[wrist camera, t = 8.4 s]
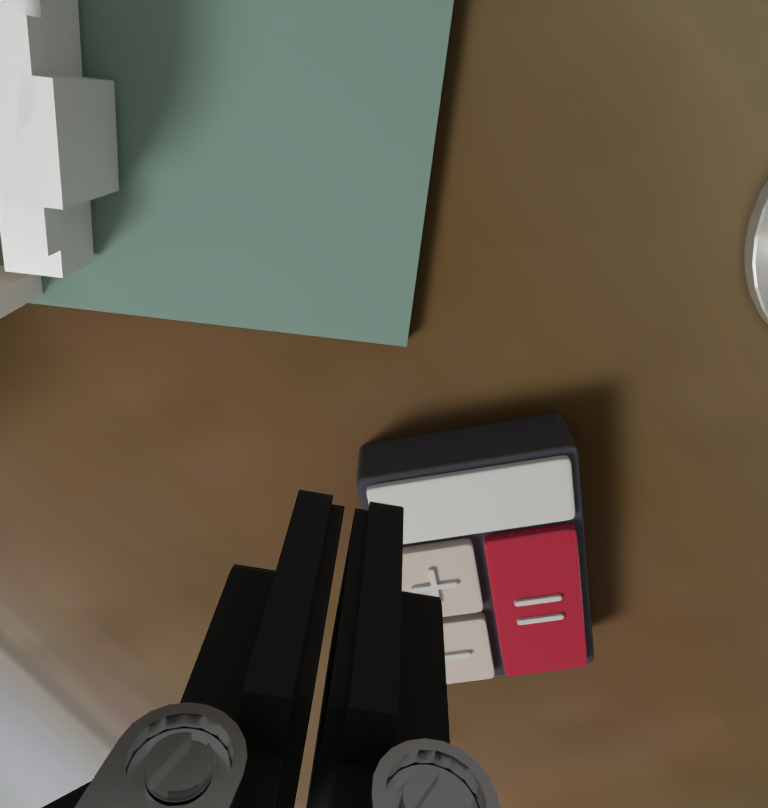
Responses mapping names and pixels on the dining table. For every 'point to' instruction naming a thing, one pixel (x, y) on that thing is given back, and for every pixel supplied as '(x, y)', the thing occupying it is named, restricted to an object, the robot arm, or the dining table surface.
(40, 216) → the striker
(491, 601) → the calculator
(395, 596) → the robot arm
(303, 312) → the pitch
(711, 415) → the dining table surface
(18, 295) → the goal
